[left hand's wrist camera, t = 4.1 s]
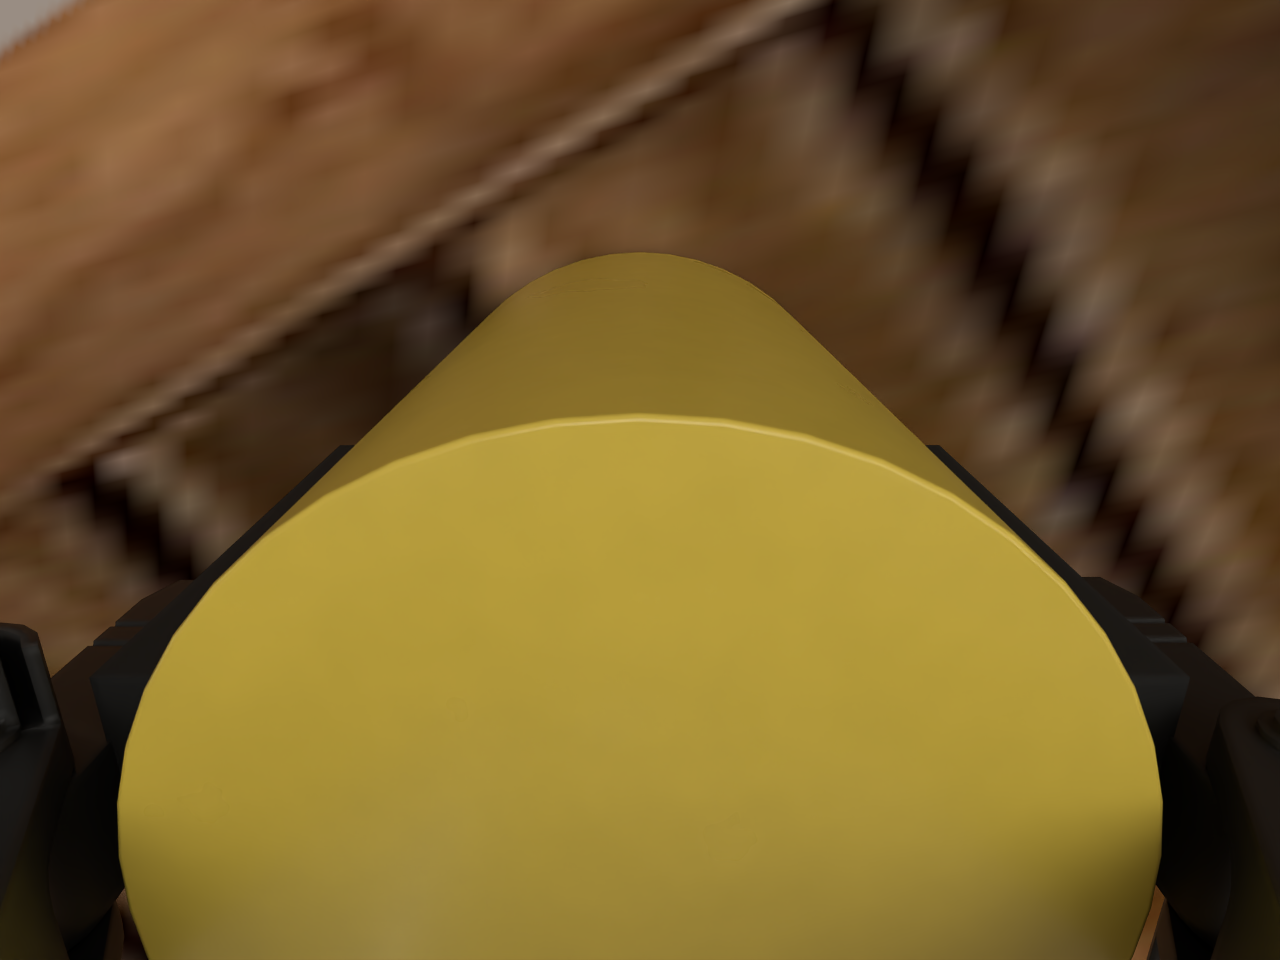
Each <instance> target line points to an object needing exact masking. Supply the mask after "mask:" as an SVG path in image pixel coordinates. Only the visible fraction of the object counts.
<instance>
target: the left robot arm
mask: <svg viewBox="0 0 1280 960" xmlns="http://www.w3.org/2000/svg"><path fill="white" fill-rule="evenodd" d="M354 446H355V445H340V446H339V447H338V448H337V449H336V450H335V451H334V452H332V453H331V454H330V455H329V456H328V457H327V458H326V459H325V460H324V461H323V462H322V463H321V464H319V465H318V466H317V467H316V468H315V469H314V470H313V471H312V472H311V473H310V474H309V475H308V476H306V477H305V478H304V479H303V480H302V481H301V482H300V483H299V484H298V485H297V486H296V487H295V488H294V489H292V490H291V491H290V492H289V493H288V494H287V495H286V496H285V497H284V498H283V499H282V500H281V501H279V502H278V503H277V504H276V505H275V506H274V507H273V508H272V509H271V510H270V511H269V512H268V513H266V514H265V515H264V516H263V517H262V518H261V519H260V520H259V521H258V522H257V523H256V524H255V525H254V526H252V527H251V528H250V529H249V530H248V531H247V532H246V533H245V534H244V535H243V536H242V537H241V538H239V539H238V540H237V541H236V542H235V543H234V544H233V545H232V546H231V547H230V548H229V549H228V550H227V551H225V552H224V553H223V554H222V555H221V556H220V557H219V558H218V559H217V560H216V561H215V562H214V563H212V564H211V565H210V566H209V567H208V568H207V569H206V570H205V571H204V572H203V573H202V574H201V575H199V576H198V577H197V578H196V579H195V580H179V581H177V582H175V583H173V584H171V585H169V586H167V587H165V588H163V589H161V590H159V591H157V592H155V593H153V594H151V595H149V596H147V597H145V598H143V599H142V600H140V601H139V602H138V603H137V604H136V605H135V606H134V607H132V608H131V609H130V610H129V611H128V612H127V613H125V614H124V615H123V616H122V617H121V618H120V619H119V620H117V621H116V625H115V627H109V628H108V629H107V630H106V631H105V632H104V633H102V634H101V635H100V636H99V637H98V638H97V639H95V640H94V644H93V646H87V647H86V648H85V649H84V650H83V651H82V652H80V653H79V654H78V655H77V656H76V657H75V658H73V659H72V660H71V661H70V662H69V663H68V664H67V665H65V666H64V667H63V668H62V669H61V670H60V671H58V672H57V673H56V674H55V675H54V676H53V677H52V678H50V674H49V671H48V667H47V664H46V661H45V657H44V654H43V650H42V647H41V644H40V640H39V637H38V633H37V632H35V631H34V630H32V629H30V628H28V627H27V626H25V625H20V624H10V623H0V960H121V954H122V947H123V941H124V932H123V926H122V919H121V916H120V912H119V909H118V905H117V902H116V899H117V898H118V896H119V895H120V893H121V892H122V891H123V889H124V888H125V885H124V880H123V875H122V870H121V865H120V860H119V846H118V814H117V801H118V794H119V787H120V780H121V773H122V766H123V760H124V753H125V746H126V743H127V740H128V736H129V733H130V730H131V727H132V724H133V721H134V718H135V715H136V712H137V709H138V706H139V703H140V700H141V697H142V694H143V691H144V688H145V687H146V685H147V683H148V681H149V679H150V677H151V675H152V673H153V672H154V670H155V668H156V666H157V664H158V662H159V660H160V659H161V657H162V655H163V653H164V651H165V649H166V647H167V646H168V644H169V642H170V640H171V638H172V636H173V634H174V633H175V632H176V631H177V629H178V628H179V627H180V625H181V624H182V623H183V622H184V620H185V619H186V618H187V616H188V615H189V614H190V613H191V611H192V610H193V609H194V607H195V606H196V605H197V604H198V602H199V601H200V600H201V598H202V597H203V596H204V595H205V593H206V592H207V591H208V589H209V588H210V587H211V586H212V584H213V583H214V582H215V581H216V580H217V579H218V578H219V577H220V576H221V575H222V574H223V573H224V572H225V571H226V570H227V569H228V568H229V567H230V566H231V565H232V564H234V563H235V562H236V561H237V560H238V559H239V558H240V557H241V556H242V555H243V554H244V553H245V552H246V551H247V550H248V549H249V548H250V547H251V546H252V545H253V544H254V543H255V542H256V541H257V540H258V539H259V538H260V537H261V536H262V535H263V534H264V533H265V532H266V531H267V530H269V529H270V528H271V527H272V526H273V525H274V524H275V523H276V522H277V521H278V520H279V519H280V518H281V517H282V516H283V515H284V514H285V513H286V512H287V511H288V510H289V509H290V508H291V507H292V506H293V505H294V504H295V503H296V502H297V501H298V500H299V499H300V498H301V497H302V496H304V495H305V494H306V493H307V492H308V491H309V490H310V489H311V488H312V487H313V486H314V485H315V484H316V483H317V482H318V481H319V480H320V479H321V478H322V477H323V476H324V475H325V474H326V473H327V472H328V471H329V470H330V469H331V468H332V467H333V466H334V465H335V464H336V463H338V462H339V461H340V460H341V459H342V458H343V457H344V456H345V455H346V454H347V453H348V452H349V451H350V450H351V449H352V448H353V447H354ZM925 446H926V447H927V448H928V449H929V450H930V451H931V452H932V453H933V454H934V455H935V456H936V457H937V458H938V459H939V460H941V461H942V462H943V463H944V464H945V465H946V466H947V467H948V468H949V469H950V470H951V471H952V472H953V473H954V474H955V475H956V476H957V477H958V478H959V479H960V480H961V481H962V482H963V483H964V484H965V485H966V486H967V487H968V488H969V489H970V490H971V491H972V492H974V493H975V494H976V495H977V496H978V497H979V498H980V499H981V500H982V501H983V502H984V503H985V504H986V505H987V506H988V507H989V508H990V509H991V510H992V511H993V512H994V513H995V514H996V515H997V516H998V517H999V518H1000V519H1001V520H1002V521H1003V522H1004V523H1006V524H1007V525H1008V526H1009V527H1010V528H1011V529H1012V530H1013V531H1014V532H1015V533H1016V534H1017V535H1018V536H1019V537H1020V538H1021V539H1022V540H1023V541H1024V542H1025V543H1026V544H1027V545H1028V546H1029V547H1030V548H1031V549H1032V550H1033V551H1034V552H1035V553H1036V554H1038V555H1039V556H1040V557H1041V558H1042V559H1043V560H1044V561H1045V562H1046V563H1047V564H1048V565H1049V566H1050V567H1051V568H1052V569H1053V570H1054V571H1055V572H1056V573H1057V574H1058V575H1059V576H1060V577H1061V578H1062V579H1063V580H1064V581H1065V582H1066V583H1067V584H1068V586H1069V587H1070V588H1071V589H1072V591H1073V592H1074V593H1075V594H1076V596H1077V597H1078V598H1079V600H1080V601H1081V602H1082V603H1083V605H1084V606H1085V607H1086V608H1087V610H1088V611H1089V612H1090V614H1091V615H1092V616H1093V617H1094V619H1095V620H1096V621H1097V623H1098V624H1099V625H1100V626H1101V628H1102V629H1103V630H1104V631H1105V633H1106V634H1107V636H1108V638H1109V640H1110V642H1111V644H1112V646H1113V647H1114V649H1115V651H1116V653H1117V655H1118V657H1119V658H1120V660H1121V662H1122V664H1123V666H1124V668H1125V669H1126V671H1127V673H1128V675H1129V677H1130V679H1131V681H1132V682H1133V684H1134V686H1135V688H1136V691H1137V694H1138V697H1139V700H1140V703H1141V706H1142V709H1143V712H1144V715H1145V718H1146V721H1147V724H1148V727H1149V730H1150V733H1151V736H1152V739H1153V742H1154V747H1155V753H1156V760H1157V767H1158V773H1159V780H1160V787H1161V793H1162V800H1163V810H1162V848H1161V859H1160V865H1159V870H1158V875H1157V880H1156V885H1157V887H1158V888H1159V890H1160V891H1161V892H1162V894H1163V895H1164V896H1165V899H1164V902H1163V905H1162V909H1161V912H1160V916H1159V919H1158V922H1157V926H1156V929H1155V933H1154V936H1153V939H1152V943H1151V946H1150V950H1149V953H1148V956H1147V960H1280V699H1273V698H1265V697H1255V696H1254V695H1253V694H1251V693H1250V692H1249V691H1248V690H1247V689H1246V688H1244V687H1243V686H1242V685H1241V684H1240V683H1239V682H1237V681H1236V680H1235V679H1234V678H1233V677H1232V676H1230V675H1229V674H1228V673H1227V672H1226V671H1225V670H1223V669H1222V668H1221V667H1220V666H1219V665H1218V664H1216V663H1215V662H1214V661H1213V660H1212V659H1211V658H1209V657H1208V656H1207V655H1206V654H1205V653H1204V652H1202V651H1201V650H1200V649H1199V648H1198V647H1197V646H1196V645H1194V644H1193V643H1187V638H1186V637H1185V636H1184V635H1183V634H1182V633H1180V632H1179V631H1178V630H1177V629H1176V628H1175V627H1173V626H1172V625H1171V624H1170V623H1165V621H1164V620H1165V619H1164V618H1163V617H1162V616H1161V615H1159V614H1158V613H1157V612H1156V611H1155V610H1154V609H1152V608H1151V607H1150V606H1149V605H1148V604H1147V603H1145V602H1144V601H1143V600H1142V599H1141V598H1140V597H1138V596H1137V595H1135V594H1133V593H1131V592H1129V591H1127V590H1125V589H1123V588H1121V587H1119V586H1117V585H1115V584H1113V583H1111V582H1109V581H1107V580H1105V579H1103V578H1101V577H1081V576H1080V575H1079V574H1078V573H1077V572H1076V571H1075V570H1073V569H1072V568H1071V567H1070V566H1069V565H1068V564H1067V563H1066V562H1065V561H1064V560H1063V559H1062V558H1060V557H1059V556H1058V555H1057V554H1056V553H1055V552H1054V551H1053V550H1052V549H1051V548H1050V547H1049V546H1047V545H1046V544H1045V543H1044V542H1043V541H1042V540H1041V539H1040V538H1039V537H1038V536H1037V535H1036V534H1035V533H1033V532H1032V531H1031V530H1030V529H1029V528H1028V527H1027V526H1026V525H1025V524H1024V523H1023V522H1022V521H1020V520H1019V519H1018V518H1017V517H1016V516H1015V515H1014V514H1013V513H1012V512H1011V511H1010V510H1009V509H1008V508H1006V507H1005V506H1004V505H1003V504H1002V503H1001V502H1000V501H999V500H998V499H997V498H996V497H995V496H993V495H992V494H991V493H990V492H989V491H988V490H987V489H986V488H985V487H984V486H983V485H982V484H980V483H979V482H978V481H977V480H976V479H975V478H974V477H973V476H972V475H971V474H970V473H969V472H968V471H966V470H965V469H964V468H963V467H962V466H961V465H960V464H959V463H958V462H957V461H956V460H955V459H953V458H952V457H951V456H950V455H949V454H948V453H947V452H946V451H945V450H944V449H943V448H942V447H941V446H939V445H925Z"/></svg>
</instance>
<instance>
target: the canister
mask: <svg viewBox="0 0 1280 960" xmlns="http://www.w3.org/2000/svg"><path fill="white" fill-rule="evenodd" d="M1162 810H1163V800H1162V793H1161V787H1160V780H1159V773H1158V767H1157V760H1156V753H1155V747H1154V742H1153V739H1152V736H1151V733H1150V730H1149V727H1148V724H1147V721H1146V718H1145V715H1144V712H1143V709H1142V706H1141V703H1140V700H1139V697H1138V694H1137V691H1136V688H1135V686H1134V684H1133V682H1132V681H1131V679H1130V677H1129V675H1128V673H1127V671H1126V669H1125V668H1124V666H1123V664H1122V662H1121V660H1120V658H1119V657H1118V655H1117V653H1116V651H1115V649H1114V647H1113V646H1112V644H1111V642H1110V640H1109V638H1108V636H1107V634H1106V633H1105V631H1104V630H1103V629H1102V628H1101V626H1100V625H1099V624H1098V623H1097V621H1096V620H1095V619H1094V617H1093V616H1092V615H1091V614H1090V612H1089V611H1088V610H1087V608H1086V607H1085V606H1084V605H1083V603H1082V602H1081V601H1080V600H1079V598H1078V597H1077V596H1076V594H1075V593H1074V592H1073V591H1072V589H1071V588H1070V587H1069V586H1068V584H1067V583H1066V582H1065V581H1064V580H1063V579H1062V578H1061V577H1060V576H1059V575H1058V574H1057V573H1056V572H1055V571H1054V570H1053V569H1052V568H1051V567H1050V566H1049V565H1048V564H1047V563H1046V562H1045V561H1044V560H1043V559H1042V558H1041V557H1040V556H1039V555H1038V554H1036V553H1035V552H1034V551H1033V550H1032V549H1031V548H1030V547H1029V546H1028V545H1027V544H1026V543H1025V542H1024V541H1023V540H1022V539H1021V538H1020V537H1019V536H1018V535H1017V534H1016V533H1015V532H1014V531H1013V530H1012V529H1011V528H1010V527H1009V526H1008V525H1007V524H1006V523H1004V522H1003V521H1002V520H1001V519H1000V518H999V517H998V516H997V515H996V514H995V513H994V512H993V511H992V510H991V509H990V508H989V507H988V506H987V505H986V504H985V503H984V502H983V501H982V500H981V499H980V498H979V497H978V496H977V495H976V494H975V493H974V492H972V491H971V490H970V489H969V488H968V487H967V486H966V485H965V484H964V483H963V482H962V481H961V480H960V479H959V478H958V477H957V476H956V475H955V474H954V473H953V472H952V471H951V470H950V469H949V468H948V467H947V466H946V465H945V464H944V463H943V462H942V461H941V460H939V459H938V458H937V457H936V456H935V455H934V454H933V453H932V452H931V451H930V450H929V449H928V448H927V447H926V446H925V445H924V444H923V443H922V442H921V441H920V440H919V439H918V438H917V437H916V436H915V435H914V434H913V433H912V432H911V431H910V430H909V429H907V428H906V427H905V426H904V425H903V424H902V423H901V422H900V421H899V420H898V419H897V418H896V417H895V416H894V415H893V414H892V413H891V412H890V411H889V410H888V409H887V408H886V407H885V406H884V405H883V404H882V403H881V402H880V401H879V400H878V399H877V398H875V397H874V396H873V395H872V394H871V393H870V392H869V391H868V390H867V389H866V388H865V387H864V386H863V385H862V384H861V383H860V382H859V381H858V380H857V379H856V378H855V377H854V376H853V375H852V374H851V373H850V372H849V371H848V370H847V369H846V368H845V367H844V366H842V365H841V364H840V363H839V362H838V361H837V360H836V359H835V358H834V357H833V356H832V355H831V354H830V353H829V352H828V351H827V350H826V349H825V348H824V347H823V346H822V345H821V344H820V343H819V342H818V341H817V340H816V339H815V338H814V337H813V336H812V335H810V334H809V333H808V332H807V331H806V330H805V329H804V328H803V327H802V326H801V325H800V324H799V323H798V322H797V321H796V320H795V319H794V318H793V317H792V316H791V315H790V314H789V313H788V312H786V311H785V310H784V309H783V308H782V307H781V306H780V305H779V304H778V303H777V302H776V301H775V300H774V299H772V298H771V297H770V296H768V295H767V294H765V293H764V292H763V291H761V290H760V289H758V288H757V287H755V286H754V285H753V284H751V283H750V282H748V281H746V280H744V279H742V278H740V277H738V276H736V275H734V274H732V273H730V272H728V271H726V270H724V269H722V268H719V267H716V266H713V265H710V264H707V263H704V262H702V261H699V260H695V259H690V258H685V257H680V256H675V255H671V254H659V253H644V252H635V253H621V254H609V255H604V256H599V257H595V258H590V259H585V260H581V261H578V262H575V263H572V264H570V265H567V266H564V267H561V268H558V269H555V270H553V271H551V272H549V273H548V274H546V275H544V276H542V277H540V278H538V279H536V280H534V281H532V282H530V283H529V284H527V285H526V286H524V287H523V288H521V289H520V290H519V291H517V292H516V293H514V294H513V295H512V296H510V297H509V298H507V299H506V300H505V301H504V302H503V303H502V304H501V305H500V306H499V307H497V308H496V309H495V310H494V311H493V312H492V313H491V314H490V315H489V316H488V317H487V318H486V319H485V320H484V321H483V322H482V323H481V324H480V325H479V326H478V327H477V328H475V329H474V330H473V331H472V332H471V333H470V334H469V335H468V336H467V337H466V338H465V339H464V340H463V341H462V342H461V343H460V344H459V345H458V346H457V347H456V348H455V349H454V350H453V351H452V352H451V353H450V354H449V355H448V356H447V357H446V358H445V359H444V360H443V361H442V362H440V363H439V364H438V365H437V366H436V367H435V368H434V369H433V370H432V371H431V372H430V373H429V374H428V375H427V376H426V377H425V378H424V379H423V380H422V381H421V382H420V383H419V384H418V385H417V386H416V387H415V388H414V389H413V390H412V391H411V392H410V393H409V394H408V395H406V396H405V397H404V398H403V399H402V400H401V401H400V402H399V403H398V404H397V405H396V406H395V407H394V408H393V409H392V410H391V411H390V412H389V413H388V414H387V415H386V416H385V417H384V418H383V419H382V420H381V421H380V422H379V423H378V424H377V425H376V426H375V427H374V428H373V429H371V430H370V431H369V432H368V433H367V434H366V435H365V436H364V437H363V438H362V439H361V440H360V441H359V442H358V443H357V444H356V445H355V446H354V447H353V448H352V449H351V450H350V451H349V452H348V453H347V454H346V455H345V456H344V457H343V458H342V459H341V460H340V461H339V462H338V463H336V464H335V465H334V466H333V467H332V468H331V469H330V470H329V471H328V472H327V473H326V474H325V475H324V476H323V477H322V478H321V479H320V480H319V481H318V482H317V483H316V484H315V485H314V486H313V487H312V488H311V489H310V490H309V491H308V492H307V493H306V494H305V495H304V496H302V497H301V498H300V499H299V500H298V501H297V502H296V503H295V504H294V505H293V506H292V507H291V508H290V509H289V510H288V511H287V512H286V513H285V514H284V515H283V516H282V517H281V518H280V519H279V520H278V521H277V522H276V523H275V524H274V525H273V526H272V527H271V528H270V529H269V530H267V531H266V532H265V533H264V534H263V535H262V536H261V537H260V538H259V539H258V540H257V541H256V542H255V543H254V544H253V545H252V546H251V547H250V548H249V549H248V550H247V551H246V552H245V553H244V554H243V555H242V556H241V557H240V558H239V559H238V560H237V561H236V562H235V563H234V564H232V565H231V566H230V567H229V568H228V569H227V570H226V571H225V572H224V573H223V574H222V575H221V576H220V577H219V578H218V579H217V580H216V581H215V582H214V583H213V584H212V586H211V587H210V588H209V589H208V591H207V592H206V593H205V595H204V596H203V597H202V598H201V600H200V601H199V602H198V604H197V605H196V606H195V607H194V609H193V610H192V611H191V613H190V614H189V615H188V616H187V618H186V619H185V620H184V622H183V623H182V624H181V625H180V627H179V628H178V629H177V631H176V632H175V633H174V634H173V636H172V638H171V640H170V642H169V644H168V646H167V647H166V649H165V651H164V653H163V655H162V657H161V659H160V660H159V662H158V664H157V666H156V668H155V670H154V672H153V673H152V675H151V677H150V679H149V681H148V683H147V685H146V687H145V688H144V691H143V694H142V697H141V700H140V703H139V706H138V709H137V712H136V715H135V718H134V721H133V724H132V727H131V730H130V733H129V736H128V740H127V743H126V746H125V753H124V760H123V766H122V773H121V780H120V787H119V794H118V801H117V814H118V846H119V860H120V865H121V870H122V875H123V880H124V885H125V890H126V895H127V900H128V905H129V909H130V912H131V915H132V917H133V920H134V923H135V925H136V928H137V931H138V933H139V936H140V939H141V941H142V944H143V946H144V949H145V952H146V954H147V957H148V959H149V960H1131V959H1132V957H1133V954H1134V952H1135V949H1136V946H1137V944H1138V941H1139V938H1140V936H1141V933H1142V930H1143V927H1144V925H1145V922H1146V919H1147V917H1148V914H1149V911H1150V909H1151V905H1152V900H1153V895H1154V890H1155V885H1156V880H1157V875H1158V870H1159V865H1160V859H1161V848H1162Z"/></svg>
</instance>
